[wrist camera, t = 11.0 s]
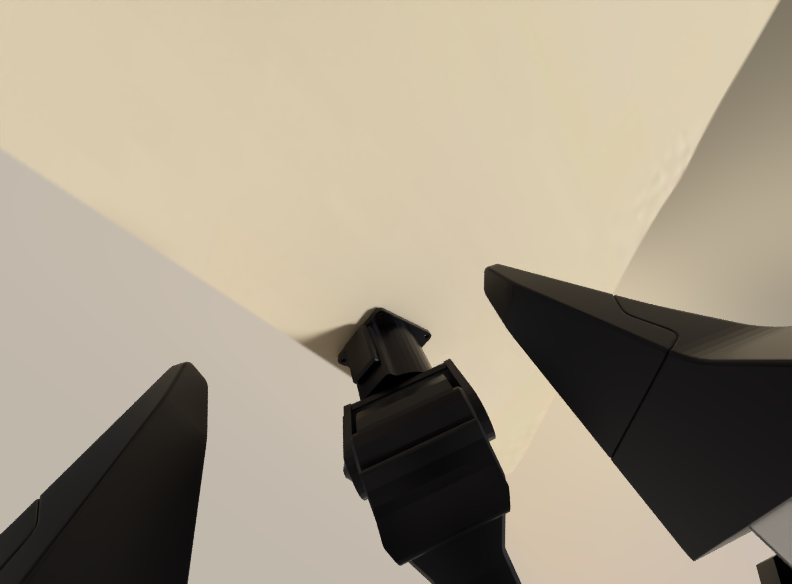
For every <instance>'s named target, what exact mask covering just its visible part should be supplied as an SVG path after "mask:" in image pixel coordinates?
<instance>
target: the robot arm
mask: <svg viewBox="0 0 792 584" xmlns="http://www.w3.org/2000/svg"><path fill="white" fill-rule="evenodd" d="M484 291H485V294H486V296H487V298H488V299H489V301H490V302H491V304H492V306H493V307H494V309H495V310H496V312H497V314H498V315H499V317H500V318H501V320H502V322H503V323H504V325H505V326H506V328H507V329H508V331H509V332H510V333H511V335H512V336H513V337H514V339H515V340H516V341H517V342H518V344H519V345H520V346H521V347H522V349H523V350H524V351H525V352H526V354H527V355H528V356H529V357H530V359H531V360H532V361H533V362H534V364H535V365H536V366H537V367H538V369H539V370H540V371H541V372H542V374H543V375H544V376H545V377H546V379H547V380H548V381H549V382H550V384H551V385H552V386H553V387H554V389H555V390H556V391H557V392H558V393H559V395H560V396H561V397H562V399H563V400H564V401H565V402H566V404H567V405H568V406H569V407H570V409H571V410H572V411H573V412H574V414H575V415H576V416H577V417H578V418H579V420H580V421H581V422H582V423H583V425H584V426H585V427H586V429H587V430H588V431H589V432H590V433H591V435H592V436H593V437H594V439H595V440H596V441H597V442H598V444H599V445H600V446H601V447H602V448H603V450H604V451H605V452H606V453H607V455H608V456H609V457H610V458H611V460H612V461H613V463H614V464H615V465H616V466H617V468H618V469H619V470H620V471H621V473H622V474H623V475H624V476H625V478H626V479H627V480H628V481H629V483H630V484H631V485H632V486H633V488H634V489H635V490H636V491H637V493H638V494H639V495H640V496H641V498H642V499H643V500H644V501H645V503H646V504H647V505H648V506H649V508H650V509H651V510H652V511H653V513H654V514H655V515H656V516H657V518H658V519H659V520H660V521H661V523H662V524H663V525H664V526H665V528H666V529H667V530H668V531H669V533H670V534H671V535H672V536H673V538H674V539H675V540H676V541H677V543H678V544H679V545H680V546H681V548H682V549H683V550H684V551H685V552H686V554H687V555H688V556H689V557H690V558H691V559H692V560H693V561H696V560H698V559H699V558H701V557H703V556H705V555H707V554H709V553H711V552H713V551H715V550H717V549H718V548H720V547H722V546H724V545H726V544H728V543H730V542H732V541H734V540H736V539H737V538H739V537H741V536H743V535H745V534H747V533H749V532H751V531H753V532H754V533H755V534H756V535H757V536H758V537H759V538H760V539H761V540H762V541H763V542H764V543H765V544H766V545H767V546H768V547H769V548H771V549H772V550H773V551H774V552H775V553H776V555H774V556H772V557H770V558H769V559H766V560H765V561H763V562H761V563H759V564H758V565H756V567H757V570H758V574H759V578H760V581H761V584H792V326H788V327H766V326H755V325H747V324H742V323H736V322H732V321H727V320H722V319H718V318H713V317H708V316H703V315H699V314H694V313H689V312H684V311H679V310H675V309H670V308H666V307H661V306H657V305H652V304H648V303H644V302H640V301H636V300H632V299H628V298H625V297H621V296H617V295H614V296H613V295H612V294H609V293H606V292H602V291H598V290H594V289H591V288H587V287H583V286H579V285H575V284H572V283H568V282H564V281H560V280H557V279H553V278H549V277H545V276H542V275H538V274H534V273H530V272H526V271H523V270H519V269H515V268H511V267H508V266H504V265H500V264H495V265H492V266H489V267H486V268H485V271H484ZM380 313H382V314H381V315H378V314H380ZM425 335H426V336H425ZM430 338H431V334H430V332H429V331H428V330H426V329H424V328H422V327H420V326H418V325H416V324H414V323H412V322H410V321H408V320H406V319H404V318H402V317H400V316H398V315H396V314H394V313H392V312H390V311H388V310H386V309H384V308H378V309H376V310H375V311H374V312H373V314H372V315H371V316H370V317H369V319H368V320H367V321H366V322H365V324H364V325H363V326H361V327H360V328H359V330H358V331H357V332H356V333H355V335H354V336H353V337H352V338H351V339H350V341H349V342H348V343H347V344H346V346H345V348H344V349H343V351H342V352H341V353H340V354H339V355H338V362H339V363H340V364H342V365H345V366H348V367H350V370H351V375H352V379H353V382H354V383H355V384H357V388H358V391H359V396H360V401H359V402H356V403H354V404H348V405H346V406H344V416H343V452H344V453H343V454H344V462H345V463H344V469H343V471H344V475H345V477H346V478H348V479H349V480H351V481H352V482H353V484H354V486H355V488H356V490H357V492H358V494H359V496H360V497H361V498H362V499H363V500H367V499H368V500H369V503H370V505H371V508H372V511H373V514H374V517H375V520H376V522H377V526H378V530H379V533H380V537H381V541H382V544H383V547H384V549H385V550H386V551H387V552H388V554H389V555H390V556H391V557H392V558H393V560H394V561H395V562H396V563H397V564H398V565H403V564H405V563H407V562H409V563H410V564H411V565H412V566H413V567H414V568H416V569H417V570H418V571H419V572H420V573H421V574H422V575H423V576H424V577H425V578H426V579H427V580H429V581H430V582H431V583H432V584H521V582H520V580H519V578H518V575H517V573H516V571H515V569H514V566H513V564H512V562H511V560H510V558H509V556H508V553H507V551H506V549H505V514H506V513H508V512H510V494H509V486H508V484H507V482H506V479H505V475H504V472H503V470H502V468H501V466H500V464H499V461H498V459H497V457H496V455H495V453H494V451H493V449H492V447H491V445H490V442H489V441H491V440H493V439H495V438H496V437H495V432H494V429H493V426H492V424H491V421H490V419H489V417H488V415H487V412H486V410H485V408H484V406H483V405H482V403H481V401H480V399H479V397H478V396H477V394H476V393H475V391H474V390H473V388H472V387H471V386H470V384H469V383H468V382H467V380H466V379H465V378H464V376H463V375H462V374H461V372H460V371H459V370H458V369H457V367H456V366H455V365H454V363H453V362H452V361H451V359H448V360H446V361H444V363H442V364H440V365H438V366H436V367H433V368H432V367H431V365H430V363H429V361H428V359H427V358H426V356H425V354H424V352H423V350H422V347H423V346H424V344H425V343H426V342H427V341H428V340H429V339H430ZM343 358H345V359H343ZM207 405H208V385H207V382H206V380H205V378H204V377H203V376H202V375H201V374H200V372H199V371H198V370H197V369H196V368H195V367H194V365H192V363H190V362H184V363H181V364H178V365H175V366H172V367H171V368H170V369H169V370H167V371H166V372H165V373H164V374H163V375H162V376H161V377H160V378H159V379H158V380H157V381H156V382H155V383H154V384H153V385H152V386H151V387H150V388H149V389H148V390H147V391H146V392H145V393H144V394H143V395H142V396H141V397H140V398H139V399H138V400H137V401H136V402H135V403H134V404H133V405H132V406H131V407H130V408H129V409H128V410H127V411H126V412H125V413H124V414H123V415H122V416H121V417H120V418H119V419H118V420H117V421H116V422H115V423H114V424H113V425H112V426H111V427H110V428H109V429H108V430H107V431H106V432H105V433H104V434H102V435H101V436H100V437H99V438H98V440H97V441H95V442H94V443H93V444H92V445H91V446H90V447H89V448H88V449H87V450H86V451H85V452H84V453H83V454H82V455H81V456H80V457H79V458H78V459H77V460H76V461H75V462H74V463H73V464H72V465H71V466H70V467H69V468H68V469H67V470H66V471H65V472H64V473H63V474H62V475H61V476H60V477H59V478H58V479H57V480H56V481H55V482H54V483H53V484H52V485H51V486H50V487H49V488H48V489H47V490H46V491H45V492H44V493H43V494H41V496H40V499H37V500H35V501H34V502H33V503H32V504H31V506H29V507H28V508H27V509H26V510H25V511H24V512H23V513H22V514H21V515H20V516H19V517H18V518H17V519H16V520H15V521H14V522H13V523H12V524H11V525H10V526H9V527H8V528H7V529H6V530H5V531H4V532H3V533H1V534H0V584H188V576H189V568H190V561H191V553H192V547H193V546H192V545H193V539H194V531H195V524H196V517H197V509H198V502H199V495H200V486H201V480H202V472H203V465H204V457H205V450H206V442H207V416H208V413H207V412H208V410H207V409H208V406H207Z"/></svg>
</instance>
